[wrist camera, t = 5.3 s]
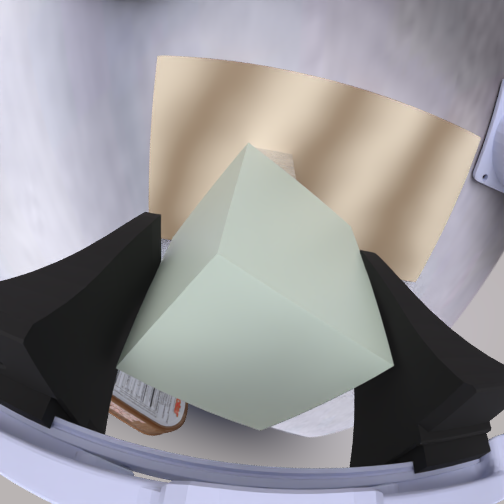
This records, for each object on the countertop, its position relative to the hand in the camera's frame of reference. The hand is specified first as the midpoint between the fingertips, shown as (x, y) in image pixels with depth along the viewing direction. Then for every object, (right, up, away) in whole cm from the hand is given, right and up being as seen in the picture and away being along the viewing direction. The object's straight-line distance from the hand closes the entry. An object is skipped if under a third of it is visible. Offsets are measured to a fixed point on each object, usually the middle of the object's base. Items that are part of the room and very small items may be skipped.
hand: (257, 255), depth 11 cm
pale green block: (0, +1, +1) cm, 2 cm away
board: (+4, +5, +8) cm, 10 cm away
